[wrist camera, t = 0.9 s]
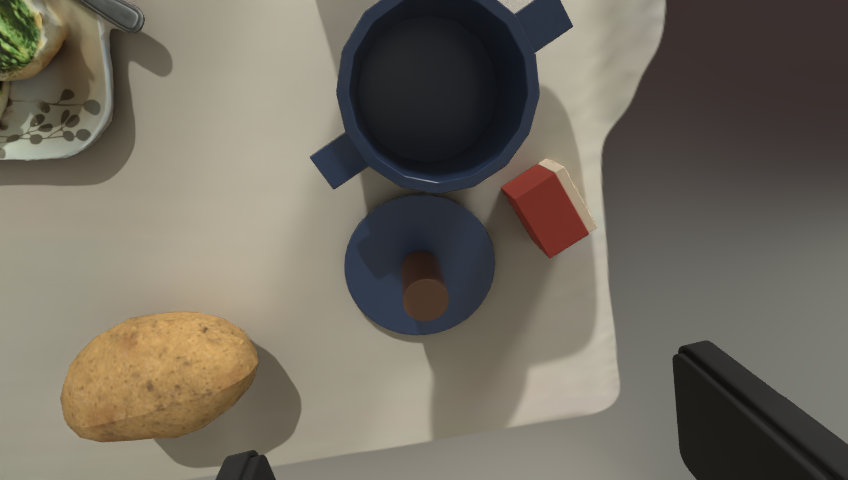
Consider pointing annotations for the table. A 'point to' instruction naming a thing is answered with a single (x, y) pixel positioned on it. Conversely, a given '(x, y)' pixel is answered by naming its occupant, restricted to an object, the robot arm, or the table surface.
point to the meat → (549, 207)
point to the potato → (157, 377)
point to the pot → (438, 90)
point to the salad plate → (57, 74)
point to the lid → (419, 264)
